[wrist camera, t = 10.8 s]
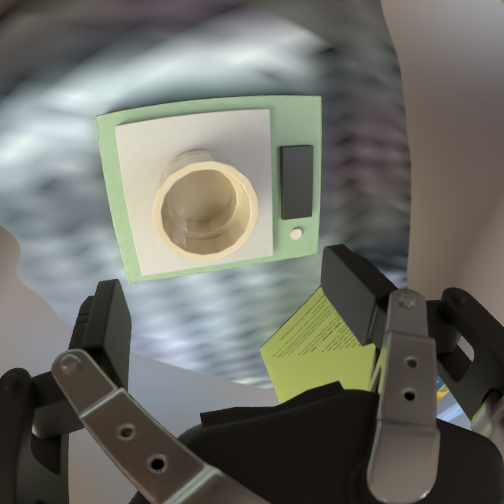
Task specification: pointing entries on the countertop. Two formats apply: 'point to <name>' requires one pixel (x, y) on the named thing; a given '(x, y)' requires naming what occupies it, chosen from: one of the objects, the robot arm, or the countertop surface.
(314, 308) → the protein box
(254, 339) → the countertop surface
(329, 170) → the countertop surface
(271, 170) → the scale
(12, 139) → the countertop surface
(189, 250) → the beige cup
